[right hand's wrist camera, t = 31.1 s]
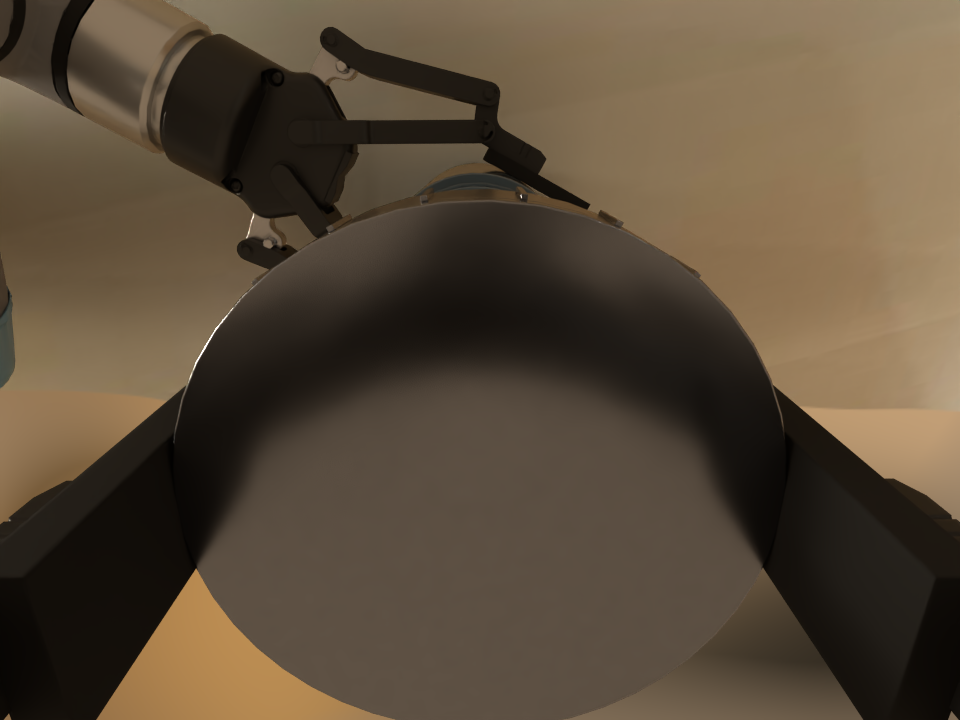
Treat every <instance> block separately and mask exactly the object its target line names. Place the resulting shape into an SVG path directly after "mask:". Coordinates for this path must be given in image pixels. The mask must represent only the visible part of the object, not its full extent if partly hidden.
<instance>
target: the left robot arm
mask: <svg viewBox="0 0 960 720" xmlns="http://www.w3.org/2000/svg"><path fill="white" fill-rule="evenodd" d="M320 42H321V45H322V48H321V50H320V52H319V54H318V56H317V58H316V60H315V62H314V64H313V66H312V68H311V70H310V72H309V73H296V72H291V71H289V70H287V69H285V68H283V67H281V66H280V65H278V64H276V63H274V62H272V61H271V60H269V59H267V58H265V57H263V56H262V55H260V54H258V53H256V52H254V51H253V50H251V49H249V48H247V47H246V46H244V45H242V44H240V43H238V42H237V41H235V40H233V39H231V38H229V37H228V36H226V35H223V34H216V35H213V33H212V32H211V30H210V29H209V27H208V26H207V25H206V24H204V23H202V22H201V21H199V20H197V19H195V18H193V17H192V16H190V15H188V14H186V13H185V12H183V11H181V10H179V9H177V8H176V7H174V6H172V5H170V4H169V3H167V2H165V1H163V0H0V76H1V77H4V78H7V79H10V80H12V81H14V82H17V83H19V84H21V85H23V86H25V87H27V88H29V89H31V90H33V91H35V92H37V93H39V94H41V95H43V96H45V97H48V98H50V99H52V100H54V101H56V102H58V103H60V104H62V105H63V106H65V107H67V108H70V109H71V110H73V111H75V112H77V113H79V114H81V115H83V116H85V117H87V118H88V119H90V120H92V121H94V122H96V123H98V124H100V125H102V126H104V127H105V128H107V129H109V130H111V131H113V132H115V133H117V134H119V135H121V136H123V137H124V138H126V139H128V140H130V141H132V142H134V143H136V144H138V145H140V146H141V147H143V148H145V149H147V150H149V151H151V152H153V153H159V154H161V153H166V155H167V157H168V159H169V160H170V161H172V162H173V163H175V164H177V165H179V166H181V167H183V168H185V169H186V170H188V171H190V172H192V173H194V174H196V175H198V176H200V177H202V178H204V179H206V180H208V181H210V182H212V183H214V184H216V185H218V186H220V187H222V188H223V189H225V190H227V191H229V192H231V193H234V194H235V195H237V196H239V197H240V198H241V199H242V200H243V201H244V202H245V203H246V204H247V205H248V207H249V208H250V209H251V211H252V212H253V213H254V214H253V217H252V221H251V224H250V228H249V231H248V235H247V238H246V239H245V240H243V241H241V242H240V243H239V244H238V246H237V252H238V254H239V256H240V257H241V258H243V259H244V260H247V261H249V262H252V263H254V264H257V265H259V266H262V267H264V268H267V269H269V270H270V269H271V268H273V267H275V266H276V265H278V264H279V263H281V262H282V261H284V260H285V259H287V258H288V257H290V256H291V255H293V254H294V253H296V252H297V250H296V249H294V248H293V247H291V246H289V245H287V244H286V237H285V235H284V234H283V233H282V232H281V231H280V230H278V229H277V227H276V226H275V222H274V219H275V218H279V217H286V216H293V215H298V216H299V217H300V218H301V220H302V221H303V222H304V224H305V225H306V226H307V228H308V229H309V230H310V232H311V233H312V234H313V235H314V236H315V237H317V238H319V237H321V236H322V235H324V234H325V233H327V232H328V230H327V229H326V227H328V226H330V225H331V224H333V223H335V222H337V221H338V220H340V219H342V218H343V217H342V215H341V214H340V212H339V211H338V209H337V208H336V207H335V205H334V203H335V202H337V201H338V200H339V198H340V196H341V193H342V191H343V188H344V181H345V176H346V174H347V173H348V172H349V171H350V169H351V168H352V167H353V166H354V164H355V161H356V159H357V157H358V155H359V153H358V152H357V150H358V146H357V144H439V143H482V144H484V145H485V146H487V147H489V148H488V150H487V152H486V154H485V156H484V158H483V160H485V161H486V162H488V163H490V164H492V165H493V166H495V167H497V168H499V169H501V170H502V171H504V172H506V173H508V174H509V175H511V176H513V177H515V178H517V179H518V180H520V181H522V182H524V183H525V184H527V185H529V186H531V187H532V188H534V189H536V190H538V191H539V192H541V193H543V194H545V195H547V196H548V197H550V198H552V199H556V200H560V201H565V202H568V203H571V204H573V205H576V206H578V207H581V208H583V209H586V210H587V209H588V208H589V206H590V204H589V203H587V202H585V201H583V200H582V199H580V198H578V197H576V196H575V195H573V194H571V193H569V192H568V191H566V190H564V189H562V188H561V187H559V186H557V185H555V184H554V183H552V182H550V181H548V180H547V179H545V178H543V177H541V176H540V175H538V174H539V172H540V170H541V168H542V166H543V164H544V162H545V161H546V158H545V156H544V155H543V154H542V153H541V151H539V150H538V149H536V148H534V147H532V146H531V145H529V144H527V143H525V142H524V141H522V140H520V139H519V138H517V137H515V136H513V135H512V134H510V133H508V132H506V131H505V130H503V129H502V128H501V127H500V125H499V123H498V120H497V113H498V106H499V99H500V90H499V87H498V86H497V85H496V84H495V83H493V82H489V81H486V80H482V79H478V78H474V77H470V76H467V75H463V74H459V73H455V72H451V71H448V70H444V69H440V68H436V67H432V66H429V65H425V64H421V63H417V62H413V61H409V60H406V59H402V58H398V57H394V56H390V55H387V54H383V53H379V52H375V51H371V50H368V49H365V48H363V47H362V46H360V45H359V44H358V43H356V42H355V41H353V40H352V39H350V38H349V37H348V36H346V35H345V34H343V33H342V32H341V31H339V30H338V29H336V28H334V27H328V28H325V29H324V30H323V31H322V33H321V36H320ZM358 73H361V74H363V75H365V76H368V77H370V78H373V79H376V80H379V81H383V82H387V83H391V84H395V85H399V86H402V87H406V88H410V89H414V90H418V91H422V92H426V93H430V94H433V95H437V96H441V97H445V98H449V99H453V100H457V101H460V102H464V103H468V104H472V105H476V113H475V120H376V121H371V120H347V119H346V117H345V115H344V113H343V111H342V109H341V107H340V106H339V104H338V102H337V100H336V98H335V96H334V94H333V92H332V90H331V88H330V87H329V84H330V83H331V81H333V80H335V79H342V80H345V81H351V80H353V79H355V78H356V76H357V75H358ZM11 297H12V295H11V293H10V291H9V289H8V287H7V285H6V280H5V275H4V270H3V265H2V259H1V254H0V388H1V387H3V386H4V385H5V383H6V382H7V381H8V380H9V378H10V376H11V375H12V373H13V371H14V367H15V351H14V338H13V325H12V306H13V303H12V299H11Z"/></svg>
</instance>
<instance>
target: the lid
mask: <svg viewBox="0 0 960 720" xmlns="http://www.w3.org/2000/svg"><path fill="white" fill-rule="evenodd" d="M622 225H623V222H622V221H620V220H618V219H617V218H615V217H613V216H611V215H610V214H608V213H606V212H604V211H602V210H600V212H599V214H596V213H594V212H591V211H589V210H586V209H583V208H581V207H578V206H576V205H573V204H571V203H568V202H565V201H560V200H556V199H552V198H548V197H544V196H540V195H536V194H531V193H527V192H526V191H525V190H524V189H523V188H522V187H516V192H515V191H505V190H495V189H473V190H448V191H443V192H437V193H434V189H433V188H429V189H427V190H426V191H425V192H424V193H423V194H422V195H420V196H414V197H409V198H406V199H403V200H400V201H396V202H393V203H390V204H387V205H384V206H381V207H378V208H374V209H372V210H370V211H368V212H366V213H364V214H361V215H359V216H357V217H355V218H353V219H352V217H351V215H350V214H349V215H347V216H345V217H343V218H342V219H340V220H338V221H337V222H335V223H333V224H331V225H330V226H328V227H326V229H327V230H328V232H327V233H325V234H324V235H322V236H321V237H319V238H317V239H316V240H314V241H313V242H311V243H309V244H308V245H306V246H305V247H303V248H302V249H300V250H299V251H297V252H296V253H294V254H293V255H291V256H290V257H288V258H287V259H285V260H284V261H282V262H281V263H279V264H278V265H276V266H275V267H273V268H271V269H270V270H268V271H267V272H265V273H263V274H262V275H260V276H259V277H257V278H255V279H254V280H253V281H252V282H251V283H252V284H253V285H254V286H252V287H251V288H250V289H249V290H248V291H247V292H246V293H245V294H244V295H243V296H241V298H240V299H239V300H238V301H237V303H236V304H235V305H234V306H233V308H232V309H231V310H230V311H229V312H228V314H227V315H226V316H225V317H224V319H223V320H222V321H221V322H220V323H219V325H218V326H217V327H216V329H215V330H214V332H213V334H212V335H211V337H210V339H209V340H208V342H207V344H206V346H205V347H204V349H203V351H202V352H201V354H200V356H199V358H198V359H197V361H196V363H195V366H194V368H193V371H192V373H191V376H190V378H189V381H188V383H187V386H186V389H185V391H184V394H183V396H182V400H181V405H180V409H179V414H178V418H177V423H176V427H175V432H174V445H173V463H172V474H173V484H174V492H175V498H176V503H177V508H178V513H179V517H180V522H181V526H182V531H183V535H184V539H185V542H186V544H187V547H188V549H189V552H190V554H191V556H192V559H193V561H194V564H195V566H196V569H197V570H198V572H199V574H200V575H201V577H202V579H203V581H204V582H205V584H206V586H207V588H208V589H209V591H210V593H211V594H212V596H213V598H214V599H215V600H216V602H217V603H218V604H219V606H220V607H221V608H222V610H223V611H224V612H225V613H226V615H227V616H228V617H229V619H230V620H231V621H232V623H233V624H234V625H235V626H236V627H237V628H238V629H239V630H240V631H241V632H242V633H243V634H244V635H245V636H246V637H247V638H248V639H249V640H250V641H251V642H252V643H253V644H254V645H255V646H256V647H257V648H258V649H259V650H260V651H262V652H263V653H264V654H265V655H267V656H268V657H269V658H270V659H272V660H273V661H274V662H275V663H277V664H278V665H279V666H280V667H281V668H283V669H284V670H286V671H287V672H289V673H290V674H292V675H294V676H295V677H297V678H298V679H300V680H301V681H303V682H305V683H306V684H308V685H309V686H311V687H313V688H315V689H317V690H319V691H321V692H323V693H325V694H327V695H329V696H331V697H333V698H335V699H337V700H339V701H341V702H344V703H346V704H349V705H352V706H354V707H357V708H360V709H362V710H365V711H368V712H370V713H373V714H377V715H381V716H384V717H388V718H392V719H396V720H563V719H568V718H572V717H575V716H578V715H581V714H585V713H588V712H591V711H594V710H597V709H600V708H603V707H605V706H608V705H610V704H612V703H615V702H617V701H619V700H621V699H624V698H626V697H628V696H630V695H633V694H635V693H637V692H638V691H640V690H642V689H644V688H645V687H647V686H649V685H651V684H652V683H654V682H656V681H658V680H660V679H661V678H663V677H664V676H666V675H667V674H669V673H670V672H671V671H673V670H674V669H676V668H677V667H678V666H680V665H681V664H682V663H684V662H685V661H687V660H688V659H689V658H691V657H692V656H693V655H694V654H695V653H696V652H697V651H698V650H699V649H701V648H702V647H703V646H704V645H705V644H706V643H707V642H708V641H709V640H711V639H712V638H713V637H714V636H715V635H716V634H717V633H718V631H719V630H720V629H721V628H722V627H723V626H724V624H725V623H726V622H727V621H728V620H729V619H730V618H731V616H732V615H733V614H734V613H735V612H736V611H737V609H738V608H739V606H740V605H741V603H742V602H743V600H744V599H745V597H746V596H747V594H748V593H749V591H750V590H751V588H752V587H753V585H754V584H755V582H756V580H757V578H758V576H759V574H760V572H761V570H762V568H763V566H764V564H765V562H766V560H767V557H768V555H769V553H770V551H771V548H772V545H773V542H774V539H775V535H776V531H777V527H778V523H779V519H780V514H781V509H782V504H783V499H784V493H785V488H786V474H787V448H786V441H785V434H784V427H783V420H782V413H781V410H780V407H779V404H778V400H777V397H776V394H775V390H774V387H773V384H772V381H771V378H770V376H769V374H768V372H767V370H766V368H765V366H764V364H763V361H762V359H761V357H760V355H759V353H758V351H757V349H756V347H755V345H754V343H753V342H752V340H751V339H750V338H749V336H748V335H747V333H746V332H745V330H744V329H743V328H742V326H741V325H740V323H739V322H738V320H737V319H736V318H735V316H734V315H733V313H732V312H731V311H730V310H729V308H728V307H727V306H726V305H725V304H724V303H723V302H722V301H721V300H720V299H719V298H718V297H717V296H716V295H715V294H714V293H713V292H712V291H711V290H710V289H709V288H708V287H707V285H706V284H705V283H704V282H703V281H702V280H700V279H699V277H700V276H701V275H700V274H699V273H698V272H697V271H695V270H694V269H692V268H690V267H689V266H687V265H685V264H684V263H682V262H681V261H679V260H677V259H676V258H674V257H672V256H669V255H668V254H667V253H665V252H663V251H662V250H660V249H658V248H657V247H655V246H654V245H652V244H650V243H649V242H647V241H645V240H644V239H642V238H641V237H639V236H637V235H636V234H634V233H632V232H630V231H628V230H627V229H625V228H623V227H622Z"/></svg>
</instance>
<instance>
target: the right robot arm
mask: <svg viewBox="0 0 960 720" xmlns="http://www.w3.org/2000/svg"><path fill="white" fill-rule="evenodd" d="M186 386H187V385H186ZM186 386H185V387H184V388H183V389H181V390H180V391H179V392H178V393H177V394H175V395H174V396H173V397H172V398H171V399H169V400H168V401H167V402H166V403H165V404H163V405H162V406H161V407H160V408H159V409H158V410H156V411H155V412H154V413H153V414H152V415H151V416H149V417H148V418H147V419H146V420H145V421H143V422H142V423H141V424H140V425H139V426H137V427H136V428H135V429H134V430H133V431H131V432H130V433H129V434H128V435H127V436H126V437H124V438H123V439H122V440H121V441H120V442H118V443H117V444H116V445H115V446H114V447H112V448H111V449H110V450H109V451H108V452H107V453H105V454H104V455H103V456H102V457H101V458H99V459H98V460H97V461H96V462H95V463H93V464H92V465H91V466H90V467H89V468H87V469H86V470H85V471H84V472H83V473H82V474H80V475H79V476H78V477H77V478H76V479H74V480H73V481H65V482H63V483H61V484H59V485H57V486H55V487H53V488H51V489H50V490H48V491H46V492H44V493H42V494H40V495H38V496H36V497H34V498H33V499H31V500H30V501H29V502H28V503H26V504H25V505H24V506H23V507H21V508H20V509H19V510H18V511H16V512H15V513H14V514H13V515H12V516H10V517H9V520H8V522H3V523H2V524H0V720H4V719H5V717H6V716H7V715H8V714H10V717H11V720H96V719H97V718H98V716H99V715H100V713H101V712H102V710H103V709H104V707H105V706H106V704H107V703H108V701H109V699H110V698H111V696H112V695H113V693H114V692H115V690H116V689H117V687H118V686H119V684H120V683H121V681H122V680H123V678H124V677H125V675H126V674H127V672H128V671H129V669H130V668H131V666H132V665H133V663H134V662H135V660H136V659H137V657H138V655H139V654H140V653H141V651H142V649H143V648H144V646H145V645H146V643H147V642H148V640H149V639H150V637H151V636H152V634H153V633H154V631H155V630H156V628H157V627H158V625H159V624H160V622H161V621H162V619H163V618H164V616H165V615H166V613H167V612H168V610H169V609H170V607H171V606H172V604H173V602H174V601H175V599H176V598H177V596H178V595H179V593H180V592H181V590H182V589H183V587H184V586H185V584H186V583H187V581H188V580H189V578H190V577H191V575H192V574H193V572H194V571H195V569H196V566H195V564H194V561H193V559H192V556H191V554H190V552H189V549H188V547H187V544H186V542H185V539H184V535H183V531H182V526H181V522H180V517H179V513H178V508H177V503H176V498H175V492H174V484H173V474H172V463H173V445H174V432H175V427H176V423H177V418H178V414H179V409H180V405H181V400H182V396H183V394H184V391H185V389H186ZM773 387H774V390H775V394H776V397H777V400H778V404H779V407H780V410H781V413H782V420H783V427H784V434H785V441H786V448H787V474H786V488H785V493H784V499H783V504H782V509H781V514H780V519H779V523H778V527H777V531H776V535H775V539H774V542H773V545H772V548H771V551H770V553H769V555H768V557H767V560H766V562H765V564H764V566H763V568H764V570H765V571H766V573H767V574H768V576H769V577H770V579H771V580H772V582H773V583H774V585H775V586H776V588H777V589H778V591H779V592H780V594H781V595H782V597H783V599H784V600H785V602H786V603H787V605H788V606H789V608H790V609H791V611H792V612H793V614H794V615H795V617H796V618H797V620H798V621H799V623H800V624H801V626H802V627H803V629H804V630H805V632H806V633H807V635H808V636H809V638H810V639H811V641H812V642H813V644H814V646H815V647H816V649H817V650H818V651H819V653H820V655H821V656H822V658H823V659H824V661H825V662H826V664H827V665H828V667H829V668H830V670H831V671H832V673H833V674H834V676H835V677H836V679H837V680H838V682H839V683H840V685H841V686H842V688H843V689H844V691H845V692H846V694H847V696H848V697H849V699H850V700H851V702H852V703H853V705H854V706H855V708H856V709H857V711H858V712H859V714H860V715H861V717H862V718H863V720H948V718H949V716H950V713H951V711H952V712H953V713H954V715H955V716H956V717H957V718H958V719H959V720H960V522H959V521H958V520H956V519H952V517H951V515H950V514H949V513H948V512H947V511H945V510H944V509H943V508H942V507H940V506H939V505H938V504H937V503H935V502H934V501H933V500H932V499H930V498H929V497H928V496H927V495H925V494H923V493H921V492H919V491H917V490H915V489H913V488H911V487H909V486H907V485H905V484H903V483H901V482H899V481H897V480H895V479H884V478H883V477H882V476H880V475H879V474H878V473H877V472H876V471H874V470H873V469H872V468H871V467H870V466H868V465H867V464H866V463H865V462H864V461H863V460H861V459H860V458H859V457H858V456H857V455H855V454H854V453H853V452H852V451H851V450H850V449H848V448H847V447H846V446H845V445H843V444H842V443H841V442H840V441H839V440H838V439H836V438H835V437H834V436H833V435H832V434H830V433H829V432H828V431H827V430H826V429H825V428H823V427H822V426H821V425H820V424H819V423H817V422H816V421H815V420H814V419H813V418H811V417H810V416H809V415H808V414H807V413H806V412H804V411H803V410H802V409H801V408H800V407H798V406H797V405H796V404H795V403H794V402H793V401H791V400H790V399H789V398H788V397H787V396H785V395H784V394H783V393H782V392H781V391H779V390H778V389H777V388H776V387H775V386H774V385H773Z"/></svg>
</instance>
